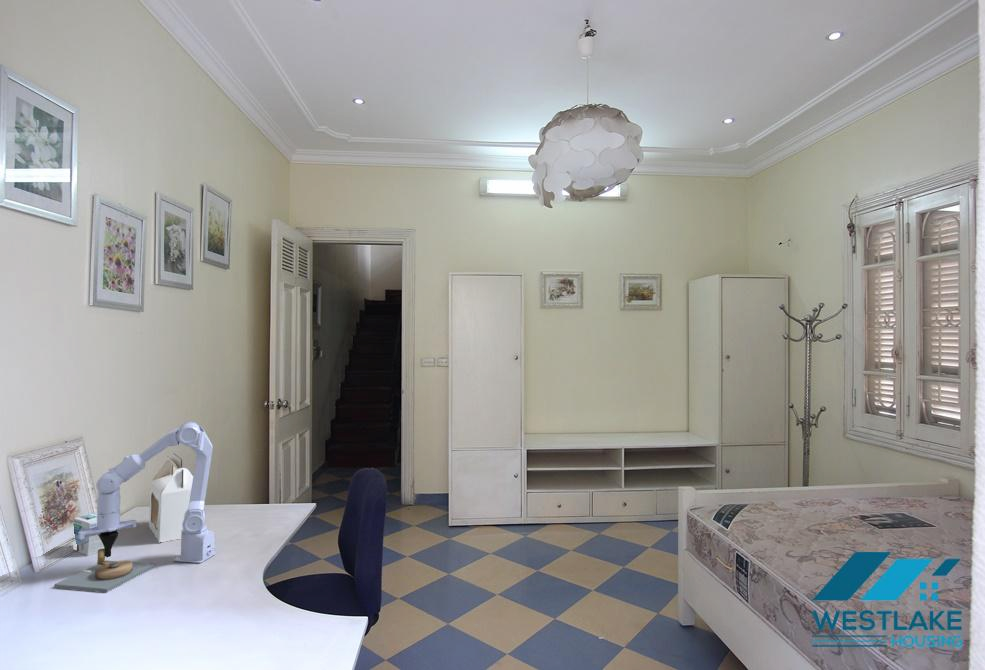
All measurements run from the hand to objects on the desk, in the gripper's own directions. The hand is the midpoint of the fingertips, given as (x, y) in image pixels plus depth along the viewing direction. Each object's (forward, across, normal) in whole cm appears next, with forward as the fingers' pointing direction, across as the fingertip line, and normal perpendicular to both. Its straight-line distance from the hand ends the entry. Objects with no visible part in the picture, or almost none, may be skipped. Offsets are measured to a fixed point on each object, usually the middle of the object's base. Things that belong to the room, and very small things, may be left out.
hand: (107, 556), depth 161 cm
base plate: (+4, -2, -5) cm, 7 cm away
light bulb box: (+5, +2, +23) cm, 24 cm away
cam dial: (+3, -1, -5) cm, 6 cm away
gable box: (+5, +27, +22) cm, 35 cm away
